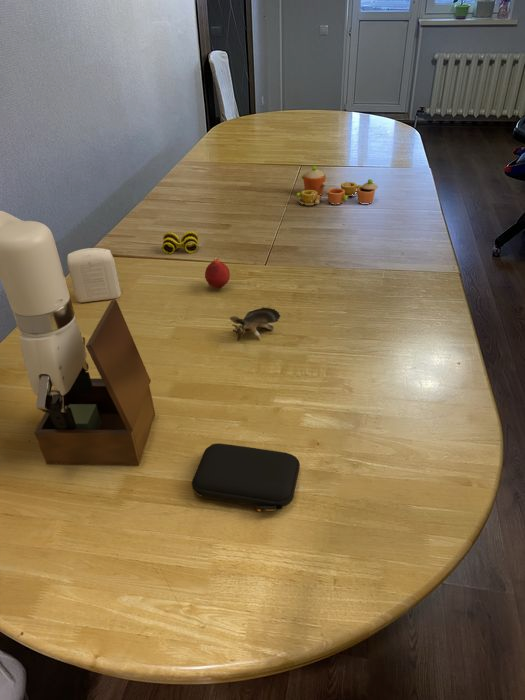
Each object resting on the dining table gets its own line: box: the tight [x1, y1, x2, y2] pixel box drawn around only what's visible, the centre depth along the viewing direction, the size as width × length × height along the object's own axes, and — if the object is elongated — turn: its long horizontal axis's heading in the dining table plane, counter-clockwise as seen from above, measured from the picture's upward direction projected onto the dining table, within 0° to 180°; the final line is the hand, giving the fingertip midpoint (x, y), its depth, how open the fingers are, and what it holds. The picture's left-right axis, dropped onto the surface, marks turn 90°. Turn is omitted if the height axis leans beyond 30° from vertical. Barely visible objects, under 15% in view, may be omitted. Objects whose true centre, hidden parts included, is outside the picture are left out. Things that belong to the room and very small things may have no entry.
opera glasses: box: [161, 230, 199, 255], centre depth 141 cm, size 10×5×5 cm, turn 92°
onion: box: [204, 257, 231, 290], centre depth 122 cm, size 6×6×8 cm
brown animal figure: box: [229, 307, 282, 341], centre depth 106 cm, size 8×7×9 cm
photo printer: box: [66, 247, 122, 303], centre depth 119 cm, size 10×4×12 cm, turn 102°
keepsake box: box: [33, 383, 156, 467], centre depth 82 cm, size 15×12×7 cm
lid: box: [85, 299, 152, 432], centre depth 75 cm, size 16×12×1 cm
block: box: [68, 404, 102, 430], centre depth 83 cm, size 4×4×4 cm
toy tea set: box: [295, 165, 379, 206], centre depth 169 cm, size 26×16×10 cm, turn 85°
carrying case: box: [191, 442, 301, 513], centre depth 75 cm, size 11×3×15 cm
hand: (75, 408), depth 81 cm, fingers open, 7 cm apart
